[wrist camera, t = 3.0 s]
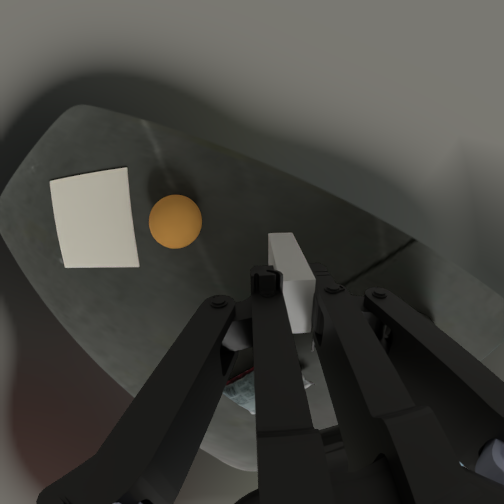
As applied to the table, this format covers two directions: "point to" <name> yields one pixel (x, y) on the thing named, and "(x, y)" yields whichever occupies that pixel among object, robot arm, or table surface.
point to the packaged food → (246, 389)
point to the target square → (95, 219)
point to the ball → (175, 221)
